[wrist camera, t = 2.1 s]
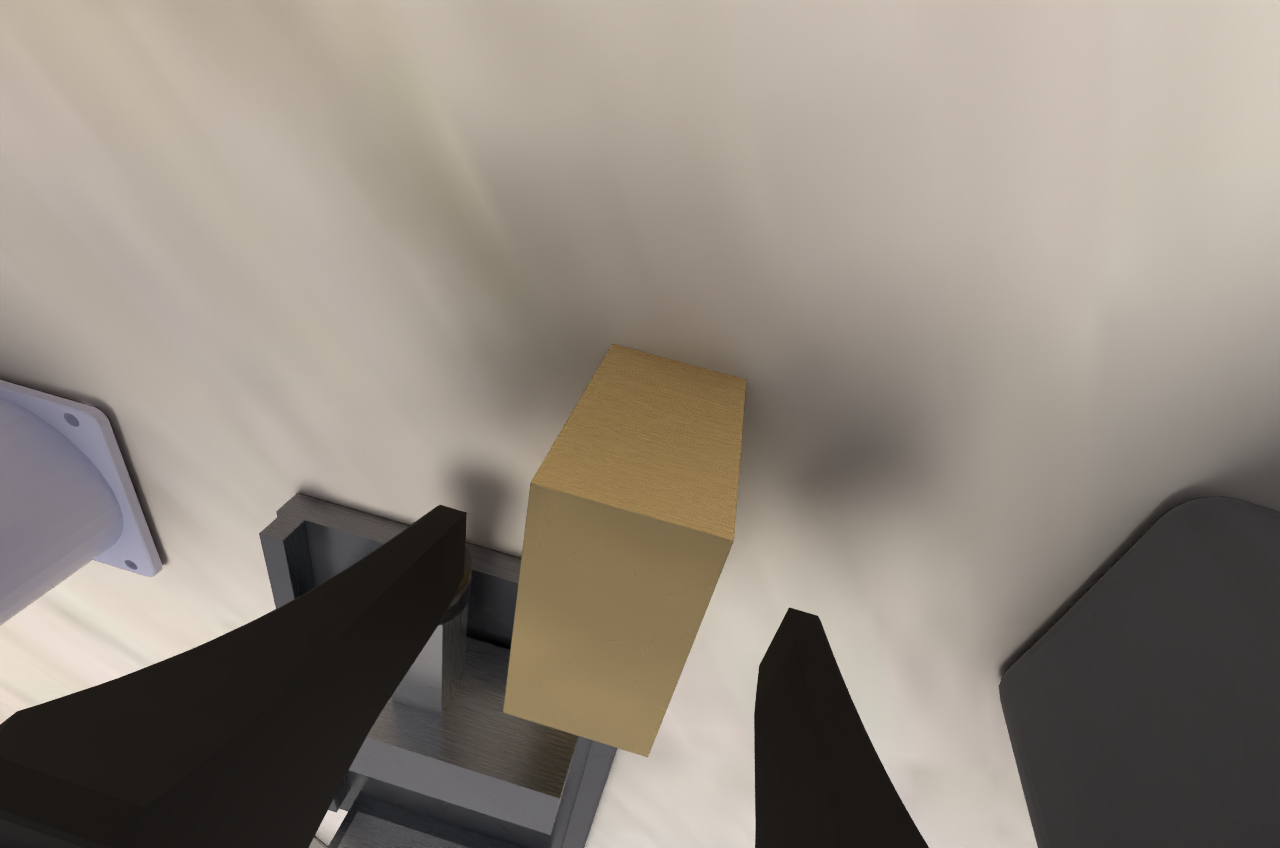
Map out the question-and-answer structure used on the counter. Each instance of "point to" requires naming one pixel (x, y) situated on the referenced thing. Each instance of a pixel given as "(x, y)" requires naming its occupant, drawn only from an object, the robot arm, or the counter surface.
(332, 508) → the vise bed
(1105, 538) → the counter surface
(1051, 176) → the counter surface
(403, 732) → the free jaw
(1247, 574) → the storage bin
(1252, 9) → the counter surface
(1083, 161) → the counter surface
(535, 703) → the brass block
